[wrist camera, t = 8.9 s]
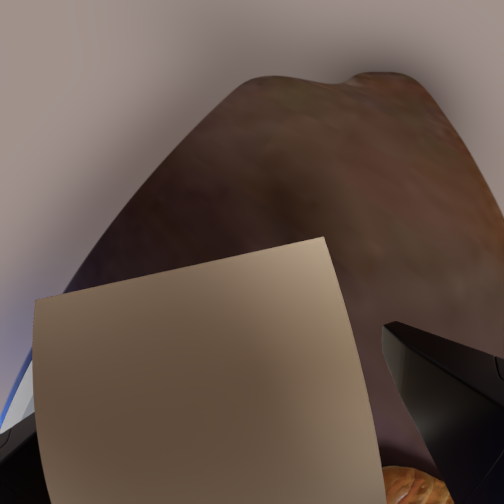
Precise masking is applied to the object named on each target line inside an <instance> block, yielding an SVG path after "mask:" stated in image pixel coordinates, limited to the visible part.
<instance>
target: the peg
mask: <svg viewBox="0 0 504 504" xmlns="http://www.w3.org/2000/svg"><path fill="white" fill-rule="evenodd" d="M32 374H33V397H34V410H35V420H36V429H37V437H38V444H39V450H40V456H41V461H42V466H43V471H44V476H45V480H46V485H47V489H48V493H49V497H50V500H51V504H387V501H386V493H385V486H384V479H383V473H382V467H381V460H380V455H379V449H378V443H377V438H376V433H375V427H374V422H373V417H372V413H371V408H370V403H369V399H368V394H367V390H366V385H365V381H364V377H363V372H362V368H361V364H360V360H359V356H358V352H357V348H356V344H355V340H354V337H353V333H352V329H351V325H350V322H349V318H348V315H347V311H346V307H345V304H344V301H343V297H342V294H341V290H340V287H339V284H338V280H337V277H336V274H335V271H334V267H333V264H332V261H331V258H330V255H329V252H328V248H327V245H326V242H325V239H324V237H320V238H315V239H311V240H306V241H302V242H297V243H292V244H288V245H283V246H279V247H274V248H270V249H265V250H261V251H256V252H252V253H247V254H242V255H238V256H233V257H229V258H224V259H220V260H215V261H211V262H206V263H202V264H197V265H192V266H188V267H183V268H179V269H174V270H170V271H165V272H161V273H156V274H152V275H147V276H142V277H138V278H133V279H129V280H124V281H120V282H115V283H111V284H106V285H101V286H97V287H92V288H88V289H83V290H79V291H74V292H70V293H65V294H61V295H56V296H51V297H47V298H43V299H38V300H35V310H34V325H33V347H32Z"/></svg>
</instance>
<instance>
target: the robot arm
mask: <svg viewBox="0 0 504 504" xmlns="http://www.w3.org/2000/svg"><path fill="white" fill-rule="evenodd" d="M382 352H383V356H384V358H385V361H386V363H387V366H388V368H389V370H390V373H391V375H392V378H393V380H394V383H395V385H396V388H397V390H398V393H399V395H400V397H401V399H402V401H403V403H404V405H405V407H406V409H407V410H408V412H409V414H410V416H411V418H412V420H413V421H414V423H415V425H416V427H417V429H418V431H419V433H420V435H421V437H422V439H423V441H424V442H425V444H426V446H427V448H428V450H429V452H430V454H431V456H432V458H433V460H434V462H435V464H436V466H437V468H438V470H439V472H440V474H441V476H442V479H443V481H444V483H445V485H446V487H447V489H448V491H449V493H450V496H451V498H452V500H453V502H454V504H504V359H503V358H500V357H497V356H495V357H494V355H491V354H488V353H485V352H482V351H480V350H477V349H474V348H471V347H468V346H465V345H462V344H460V343H457V342H454V341H451V340H448V339H445V338H443V337H440V336H437V335H434V334H431V333H428V332H426V331H423V330H420V329H417V328H415V327H412V326H409V325H406V324H403V323H401V322H398V321H394V322H391V323H388V324H385V325H384V326H383V328H382ZM0 504H51V500H50V497H49V493H48V489H47V485H46V480H45V476H44V471H43V466H42V461H41V456H40V450H39V444H38V437H37V429H36V420H35V412H33V413H32V414H30V415H29V416H27V417H26V418H24V419H23V420H21V421H20V422H18V423H17V424H15V425H14V426H13V427H11V428H9V429H8V430H6V431H5V432H3V433H2V434H0Z"/></svg>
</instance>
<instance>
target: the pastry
mask: <svg viewBox="0 0 504 504" xmlns="http://www.w3.org/2000/svg"><path fill="white" fill-rule="evenodd" d="M382 473H383V479H384V486H385V493H386V501H387V504H454V502H453V500H452V498H451V496H450V493H449V491H448V489H447V487H446V485H445V483H444V481H441V480H439V479H437V478H435V477H432V476H430V475H428V474H427V473H425V472H422V471H420V470H417V469H415V468H410V467H400V466H386V467H382Z"/></svg>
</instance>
